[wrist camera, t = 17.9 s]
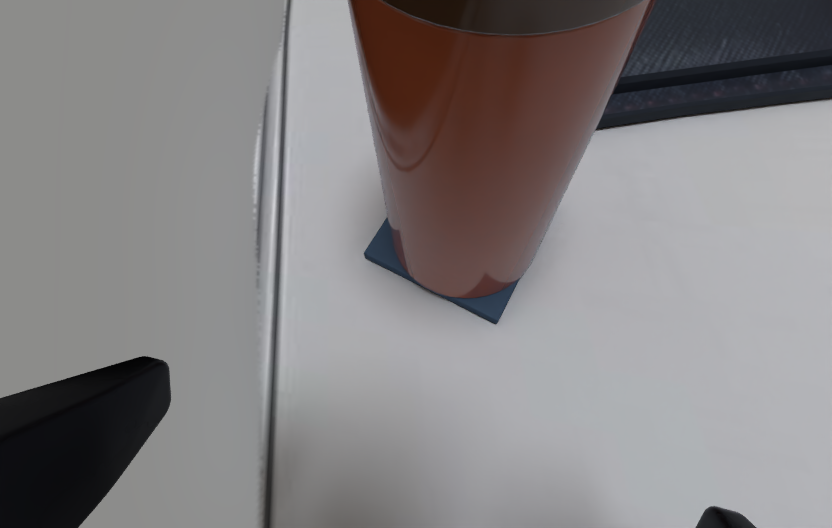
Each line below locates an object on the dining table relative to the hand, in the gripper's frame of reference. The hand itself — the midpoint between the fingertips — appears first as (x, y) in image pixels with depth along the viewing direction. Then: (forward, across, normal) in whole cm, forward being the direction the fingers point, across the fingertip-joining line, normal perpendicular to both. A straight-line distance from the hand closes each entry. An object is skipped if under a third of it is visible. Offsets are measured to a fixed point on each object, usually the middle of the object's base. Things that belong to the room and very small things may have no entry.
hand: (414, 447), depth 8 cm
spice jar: (+12, 0, 0) cm, 13 cm away
